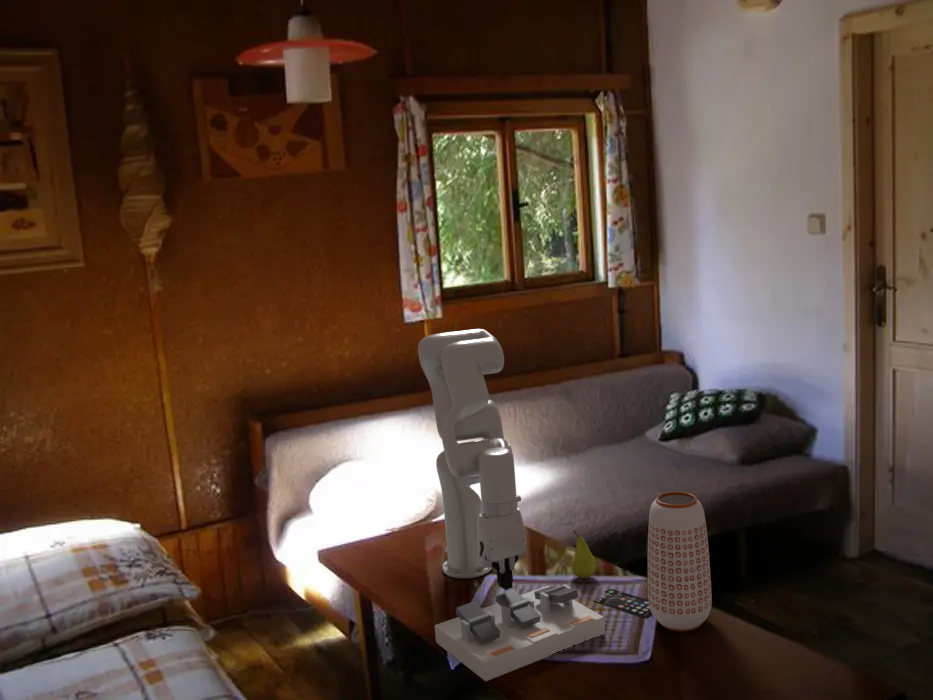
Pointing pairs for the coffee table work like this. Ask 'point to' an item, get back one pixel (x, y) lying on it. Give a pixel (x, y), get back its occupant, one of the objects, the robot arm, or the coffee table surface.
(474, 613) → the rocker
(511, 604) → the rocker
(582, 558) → the fruit
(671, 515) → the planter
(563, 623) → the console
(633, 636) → the coffee table surface
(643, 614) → the smartphone
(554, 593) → the rocker
